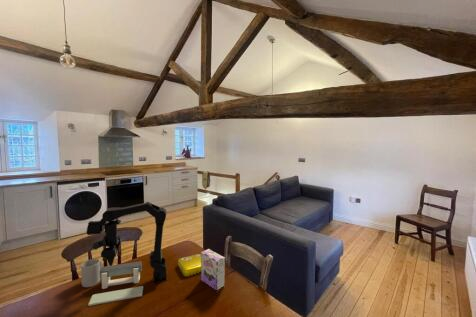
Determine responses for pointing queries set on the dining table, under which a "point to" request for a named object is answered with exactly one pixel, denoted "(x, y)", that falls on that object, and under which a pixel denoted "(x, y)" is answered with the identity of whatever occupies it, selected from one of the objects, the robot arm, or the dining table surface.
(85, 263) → the mug
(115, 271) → the rail
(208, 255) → the candy box
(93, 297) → the mat
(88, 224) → the robot arm
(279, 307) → the dining table surface
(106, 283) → the rack
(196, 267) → the element tile
